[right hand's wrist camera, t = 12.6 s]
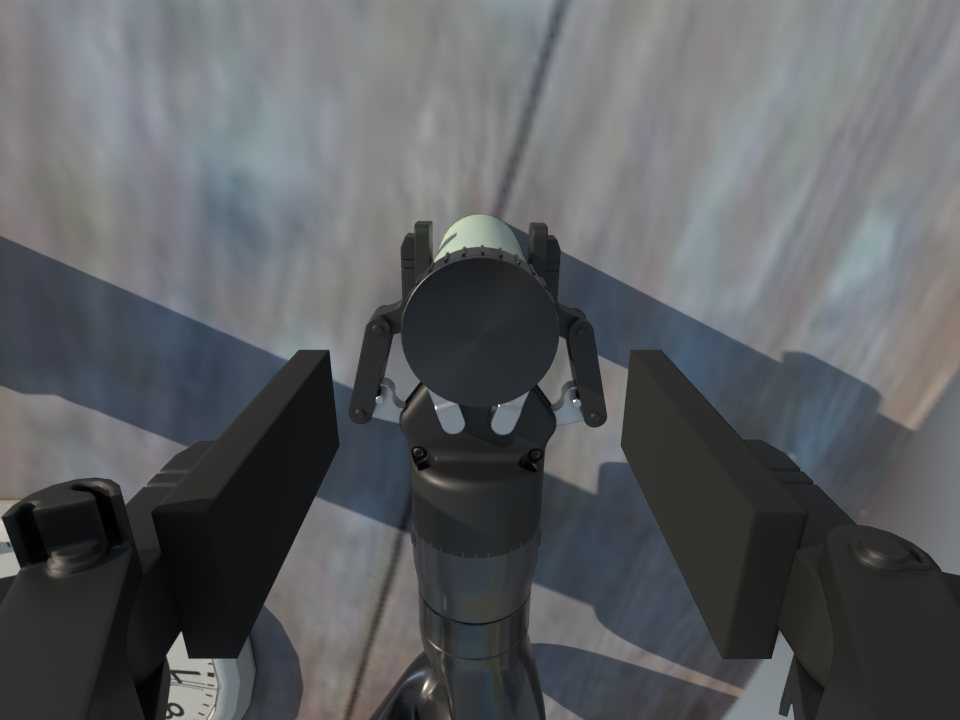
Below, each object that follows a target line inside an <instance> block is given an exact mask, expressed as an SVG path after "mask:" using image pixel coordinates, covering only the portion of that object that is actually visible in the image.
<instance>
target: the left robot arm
mask: <svg viewBox="0 0 960 720" xmlns="http://www.w3.org/2000/svg"><path fill="white" fill-rule="evenodd" d="M560 251H561V250H560V247H559V244H558V241H557V239H556V238H555V237H554V235H548V228H547V225H546V224H545V223H530V226H529V242H528V262H527V264H528V265H530V264H531V265H532V266H533V268H534V270H535V272H536V273H537V274H538V276H539V277H540V278H541V277H542V278H543V279H544V281H545V283H546V285H547V287H548V289H547V291H548V292H550V293H551V295H552V297H553V299H554V301H555V303H556V305H554V307H555V310H556V313H557V316H558V318H559V335H560V336H563V337H565V339H566V344H567V350H568V355H569V361H570V366H571V372H572V378H573V381H569V382H567V383H565V384H564V385H563V387H562V390H561V398H560V399H559V401H558V402H556V403H554V404H551V403H550V402H549V400H548V399H547V397H546V396H545V395H544V393H543V392H542V390H541V389H540V388H539V386H538V385H536V386H534V387H533V388H532V389H531V390H530V391H528V392H527V393H525V394H524V395H522V396H521V397H519V398H517V399H515V400H513V401H510V402H507V403H505V404H501V405H497V406H490V407H470V406H463V405H459V404H455V403H453V402H450V401H448V400H445V399H443V398H442V397H440V396H438V395H436V394H435V393H433V392H432V391H430V390H429V389H428V388H427V387H426V386H425V385H424V384H422V382H420V383H419V384H418V386H417V387H416V388H415V389H414V391H413V392H412V393H411V395H410V396H409V397H408V398H407V400H406V401H405V402H403V401H401V400H400V399H398V397H397V396H396V393H395V384H394V383H393V381H392V380H390V379H388V378H385V377H384V375H385V371H386V366H387V362H388V357H389V352H390V348H391V343H392V339H393V335H394V334H397V333H400V332H401V325H402V318H401V315H402V313H403V311H404V309H405V307H406V305H407V302H408V301H406V299H407V297H408V295H409V293H410V291H411V289H412V288H413V289H414V287H415V286H416V285H415V283H416V281H417V279H418V277H419V275H420V274H423V273H424V272H425V271H426V270H427V269H428V268H429V267H430V264H431V262H432V261H433V226H432V221H417V223H416V224H415V226H414V233H408V234H407V235H406V236H405V237H404V240H403V243H402V246H401V268H402V269H401V272H402V300H401V301H399V302H397V303H394V304H391V305H388V306H387V305H383V306H380V307H378V308H377V309H376V311H375V312H374V314H373V316H372V317H371V319H370V320H369V322H368V323H367V325H366V329H365V334H364V339H363V344H362V349H361V354H360V359H359V364H358V369H357V374H356V379H355V384H354V389H353V394H352V399H351V404H350V409H349V416H350V418H351V420H352V421H353V422H355V423H357V424H365V423H367V422H369V421H370V420H371V418H372V417H373V418H377V419H381V420H386V421H390V422H394V423H399V424H400V428H401V430H402V432H403V433H404V435H405V436H406V438H407V440H408V442H409V446H410V468H411V500H412V526H411V541H412V544H413V554H414V562H415V567H416V572H417V577H418V591H419V623H420V634H421V640H422V644H423V647H424V651H423V652H422V653H421V654H420V655H419V656H417V657H416V658H415V660H414V661H413V662H412V663H411V664H410V666H409V667H408V668H407V669H406V671H405V672H404V673H403V675H402V676H401V677H400V679H399V680H398V681H397V683H396V684H395V685H394V687H393V688H392V690H391V691H390V692H389V694H388V695H387V696H386V698H385V699H384V700H383V701H382V703H381V704H380V705H379V707H378V708H377V709H376V710H375V712H374V713H373V714H372V715H371V717H370V718H369V719H368V720H546V715H545V706H544V699H543V694H542V689H541V685H540V680H539V675H538V671H537V666H536V661H535V656H534V653H533V650H532V646H531V643H530V639H529V635H528V627H529V613H530V598H531V585H532V579H533V575H534V571H535V567H536V562H537V555H538V547H539V545H540V540H541V529H540V515H541V500H542V486H543V471H544V457H545V448H546V445H547V443H548V441H549V439H550V437H551V436H552V435H553V433H554V432H555V429H556V426H560V425H565V424H570V423H575V422H580V421H585V423H586V424H587V425H588V426H590V427H599V426H601V425H603V424H604V423H605V421H606V419H607V413H606V406H605V400H604V394H603V388H602V381H601V375H600V369H599V363H598V356H597V350H596V344H595V338H594V331H593V328H592V326H591V324H590V323H589V322H588V321H587V320H586V317H585V315H584V313H583V312H582V311H581V310H580V309H577V308H568V307H566V306H563V305H561V304H559V303H558V302H557V293H558V279H559V265H560Z"/></svg>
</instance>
